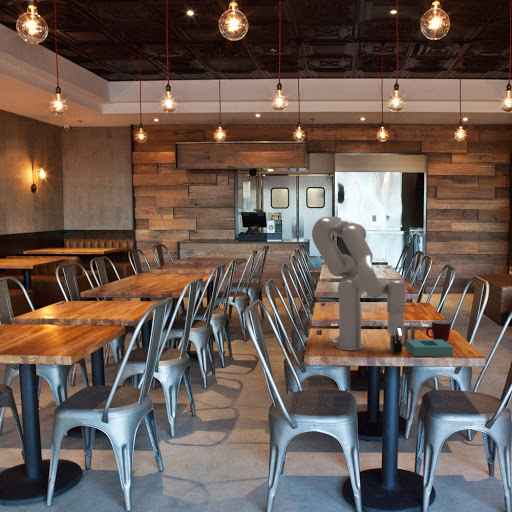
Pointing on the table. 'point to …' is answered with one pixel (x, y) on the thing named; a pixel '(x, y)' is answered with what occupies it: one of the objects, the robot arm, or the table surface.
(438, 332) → the mug
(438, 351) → the block
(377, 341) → the table surface
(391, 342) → the plug
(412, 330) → the cable clip
